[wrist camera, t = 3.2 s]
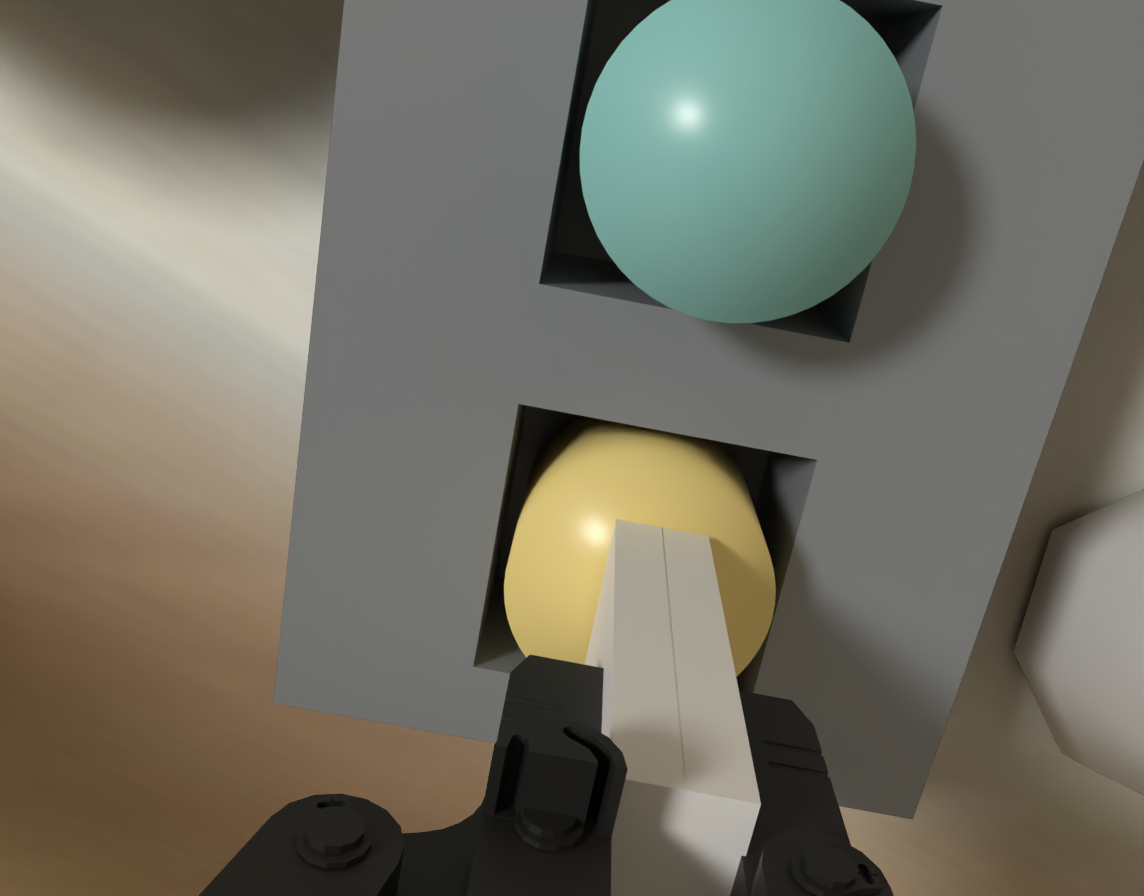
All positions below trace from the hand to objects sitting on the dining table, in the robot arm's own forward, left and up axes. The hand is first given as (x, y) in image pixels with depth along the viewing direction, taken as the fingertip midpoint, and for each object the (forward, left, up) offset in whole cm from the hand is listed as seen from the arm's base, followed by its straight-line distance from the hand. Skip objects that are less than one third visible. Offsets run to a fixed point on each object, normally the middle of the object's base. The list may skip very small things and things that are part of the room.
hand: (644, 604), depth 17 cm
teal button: (0, +7, -3) cm, 8 cm away
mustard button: (0, 0, -4) cm, 4 cm away
